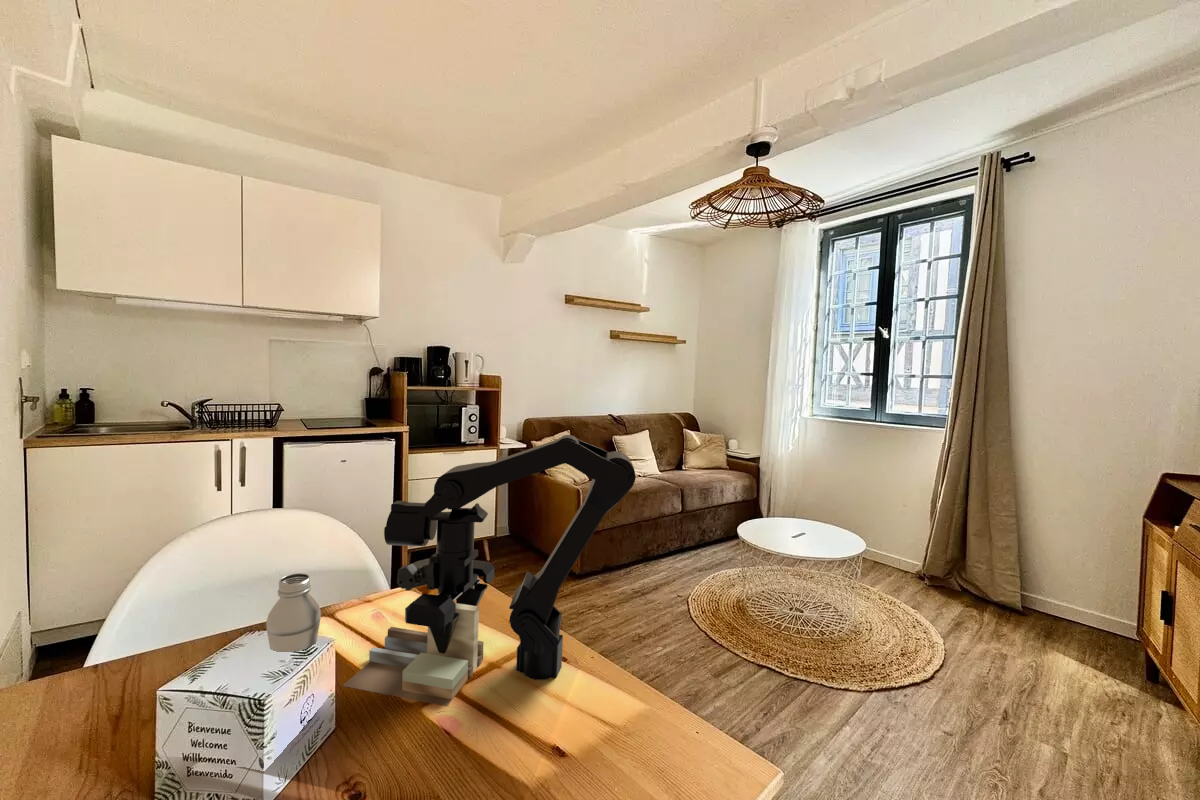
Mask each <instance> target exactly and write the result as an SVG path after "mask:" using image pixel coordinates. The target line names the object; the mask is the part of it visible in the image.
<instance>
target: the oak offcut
mask: <svg viewBox="0 0 1200 800" xmlns="http://www.w3.org/2000/svg"><path fill="white" fill-rule="evenodd" d="M467 679H468V680H469V678H468V670H467V672H466V673H465V674H464V675H463V677H462V678H461V679H460V680H459V682H458V683H457V684H456V686H455V687H454V688H453V689H452V690H451V689H445V688H440V687H434V686H429V685H424V684H418V683H413V682H407V681H402V690H403V691H408V692H414V693H419V694H424V695H430V696H435V697H440V698H446V699H451V701H453V699H454V698H455V697H456V695H457V694H458V693H459V692H460V691H461V689H462V687H463V686H464V685H465V684H464V683H466V682H467V681H468V680H467ZM460 688H461V689H460ZM457 692H458V693H457ZM454 696H455V697H454Z"/></svg>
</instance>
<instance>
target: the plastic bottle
mask: <svg viewBox="0 0 1200 800" xmlns="http://www.w3.org/2000/svg"><path fill="white" fill-rule="evenodd" d="M311 586H312V585H311V577H310V575H309V574H308V573H302V572H301V573H296V572H295V573H292V574H287V575H284V576H282V577H281V578H280V579H279V580H278V590H277V597H279V598H278V600H277V601H276V602H275V604H274V605H273V607H272V608H271V610H269V613H268V616H267V619H266V621H265V623H266V626H265V627H266V632H267V639H268V643H269V644H268V645H269V650H270V649H271V650H273V651H276V652H294V651H300V650H303V649H306V648H308V647H310V646H312V645H314V644H316V642H317V643H318V634H319V631H320V630H319V629H320V624H321V617H322V611H321V607H320V604H319V603H318V602H317V601H316V599H315V598H314V597H313V596H312V595H311V594H310V593H309V592H311V590H312V589H311Z"/></svg>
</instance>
